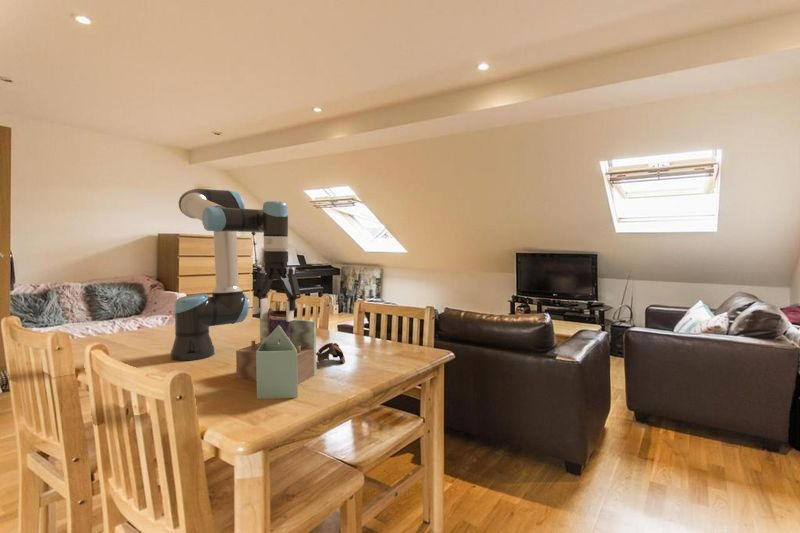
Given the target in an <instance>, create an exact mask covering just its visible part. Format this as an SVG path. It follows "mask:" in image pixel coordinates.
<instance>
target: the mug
mask: <svg viewBox="0 0 800 533" xmlns="http://www.w3.org/2000/svg"><path fill="white" fill-rule="evenodd" d="M278 325H280V327H281V328H282V330H283V331H284V332H285V334H286V335H287V337H288V338H289V339H290V321H289V322H287V321H286V310H276V309H275V308H273V307H270V308H268V318H267V333H268V336H269V335H270V334H271V333H272V332H273V331H274V330H275V329H276V328H277V326H278ZM278 342H279V344H280V338H279V341H278Z"/></svg>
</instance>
